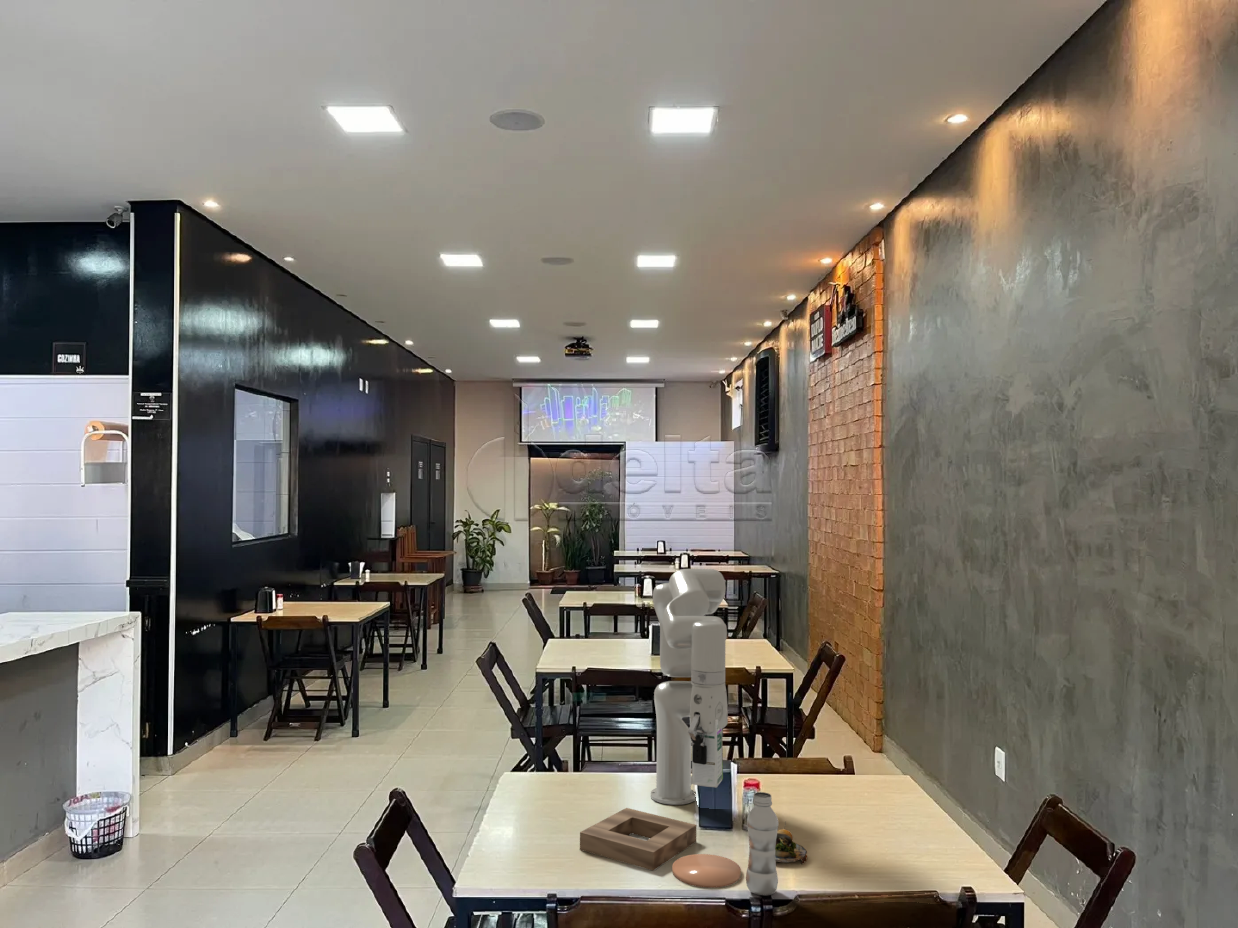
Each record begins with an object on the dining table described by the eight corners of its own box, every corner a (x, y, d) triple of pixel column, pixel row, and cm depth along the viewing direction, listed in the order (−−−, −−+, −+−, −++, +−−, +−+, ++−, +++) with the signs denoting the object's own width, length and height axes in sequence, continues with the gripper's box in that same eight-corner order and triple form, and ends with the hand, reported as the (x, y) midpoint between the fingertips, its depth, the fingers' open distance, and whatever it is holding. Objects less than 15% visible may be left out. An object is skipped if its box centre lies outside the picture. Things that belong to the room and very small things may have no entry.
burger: (744, 854, 198) (744, 821, 198) (778, 843, 205) (779, 811, 205) (783, 872, 188) (783, 838, 189) (818, 859, 196) (818, 826, 196)
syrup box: (717, 787, 185) (717, 720, 185) (690, 784, 187) (691, 717, 187) (723, 780, 190) (723, 714, 191) (697, 777, 192) (697, 711, 193)
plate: (692, 853, 198) (692, 848, 198) (752, 868, 189) (752, 864, 189) (659, 875, 185) (659, 871, 185) (721, 893, 177) (721, 888, 177)
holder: (626, 823, 215) (626, 807, 216) (696, 841, 204) (696, 824, 205) (579, 849, 199) (579, 832, 199) (653, 870, 188) (653, 852, 188)
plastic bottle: (753, 882, 182) (754, 787, 184) (783, 891, 179) (783, 793, 180) (740, 893, 177) (740, 795, 178) (770, 902, 173) (770, 802, 174)
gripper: (705, 686, 180) (704, 772, 179) (740, 673, 195) (739, 752, 194) (674, 681, 184) (673, 765, 183) (711, 669, 199) (710, 747, 198)
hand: (707, 758), depth 189 cm, fingers closed on syrup box, 6 cm apart
